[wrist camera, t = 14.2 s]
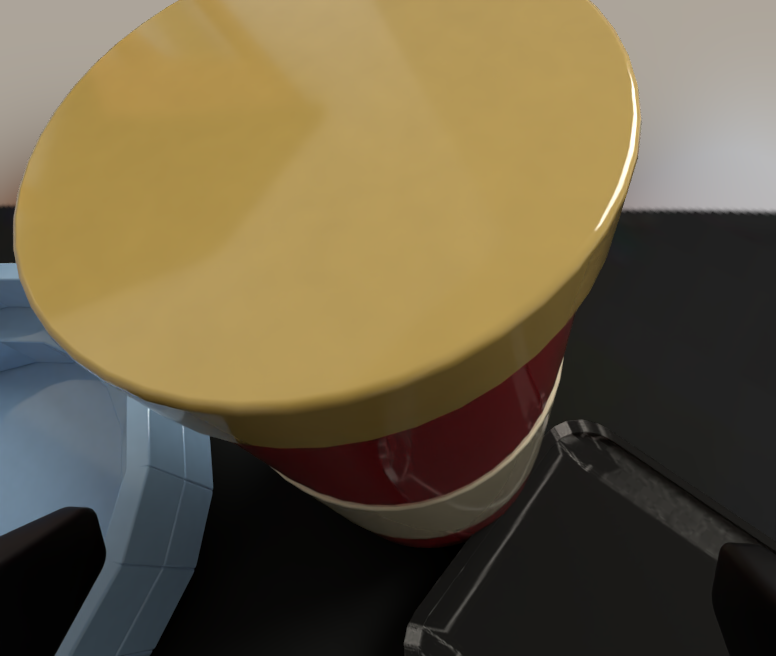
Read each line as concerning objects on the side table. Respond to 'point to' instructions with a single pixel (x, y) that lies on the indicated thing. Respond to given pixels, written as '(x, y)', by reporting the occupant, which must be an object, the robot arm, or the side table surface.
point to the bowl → (99, 480)
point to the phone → (586, 562)
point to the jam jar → (340, 235)
